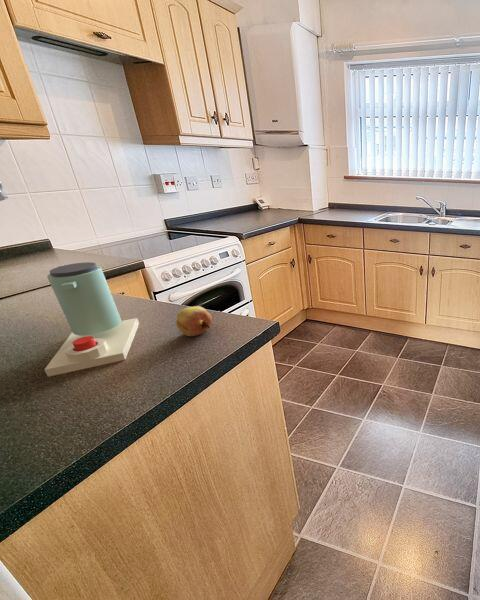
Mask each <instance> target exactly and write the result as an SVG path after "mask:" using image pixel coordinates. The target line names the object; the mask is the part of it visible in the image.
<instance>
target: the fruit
mask: <svg viewBox="0 0 480 600" xmlns="http://www.w3.org/2000/svg"><path fill="white" fill-rule="evenodd" d="M212 323H213V317H212V315H211V313H209V311H208V310H207V309H206V308H205V307H202V306H199V305H195V306H194V305H193V306H189V307H188V306H187V307H184V308H182V309H180V311H178V313H177V316H176V321H175V324H176V327H177V328H178V329H179V331H180V332H181V333H182V334H183V335H185V336H187V337H197V336H200V335H202V334H203V333H205V332H206V331H207V330H208V329H211V326H212Z"/></svg>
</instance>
